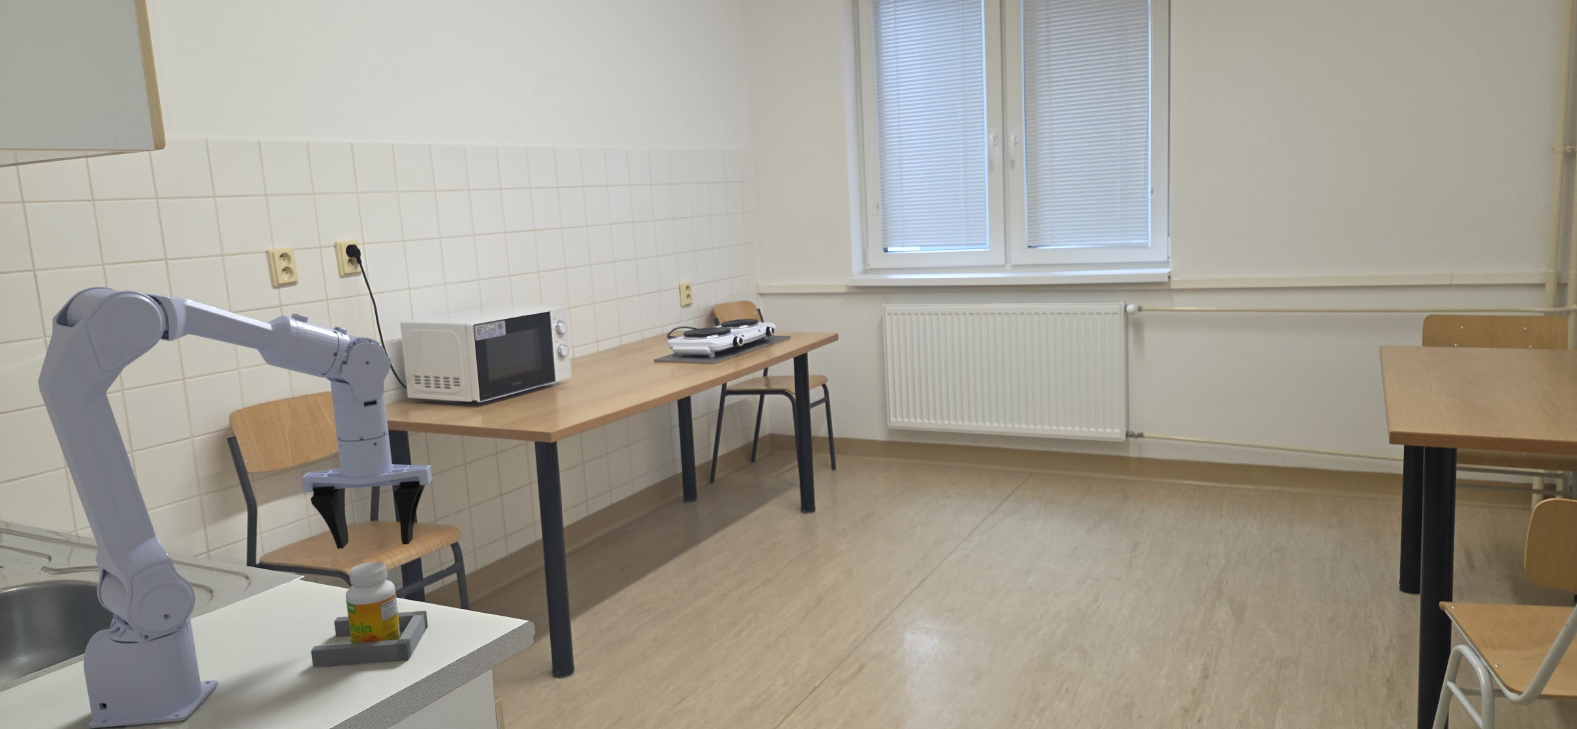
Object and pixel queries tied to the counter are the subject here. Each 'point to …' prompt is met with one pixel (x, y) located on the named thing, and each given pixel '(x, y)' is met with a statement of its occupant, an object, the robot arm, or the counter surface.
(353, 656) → the gray u-shaped bracket
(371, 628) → the supplement bottle
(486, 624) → the counter surface
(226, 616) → the counter surface
